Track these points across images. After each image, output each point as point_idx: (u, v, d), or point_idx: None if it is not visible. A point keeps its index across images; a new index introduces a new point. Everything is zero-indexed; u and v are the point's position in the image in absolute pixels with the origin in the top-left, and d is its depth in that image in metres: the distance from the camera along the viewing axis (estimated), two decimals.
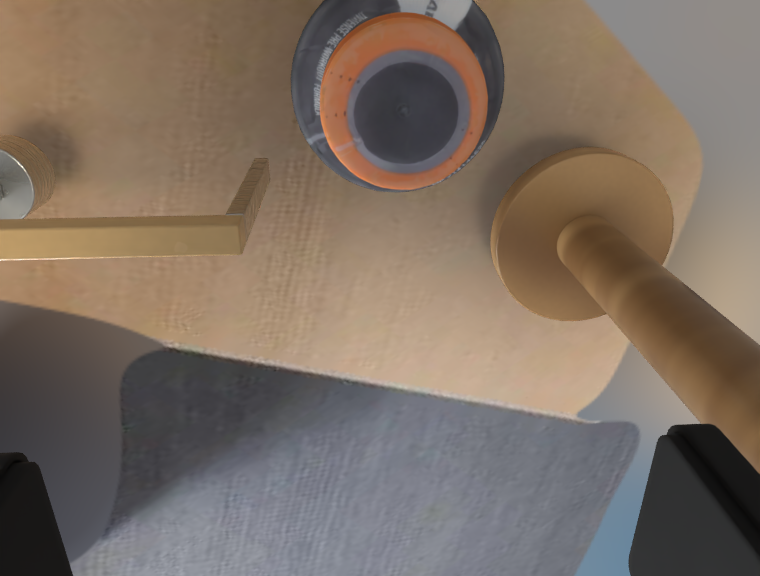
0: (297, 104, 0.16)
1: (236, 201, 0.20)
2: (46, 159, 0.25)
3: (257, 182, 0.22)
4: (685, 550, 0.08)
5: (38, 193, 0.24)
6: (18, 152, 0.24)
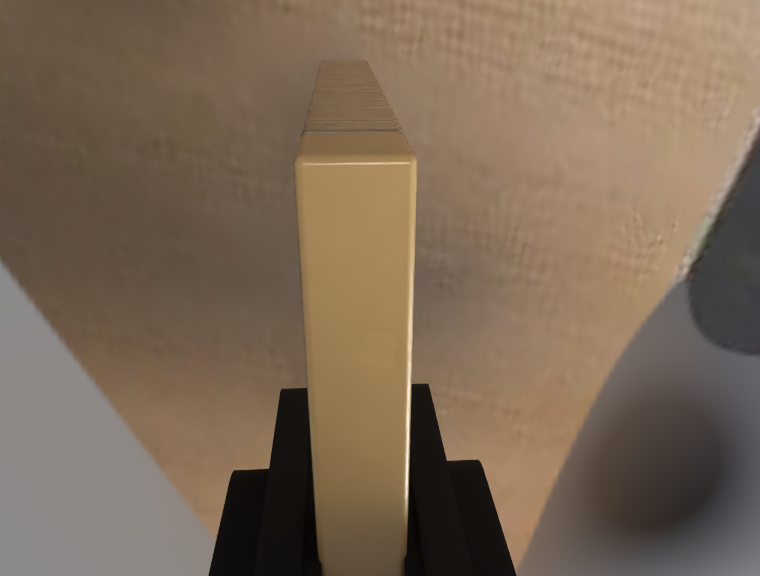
0: None
1: None
2: None
3: (316, 84, 0.09)
4: None
5: None
6: None
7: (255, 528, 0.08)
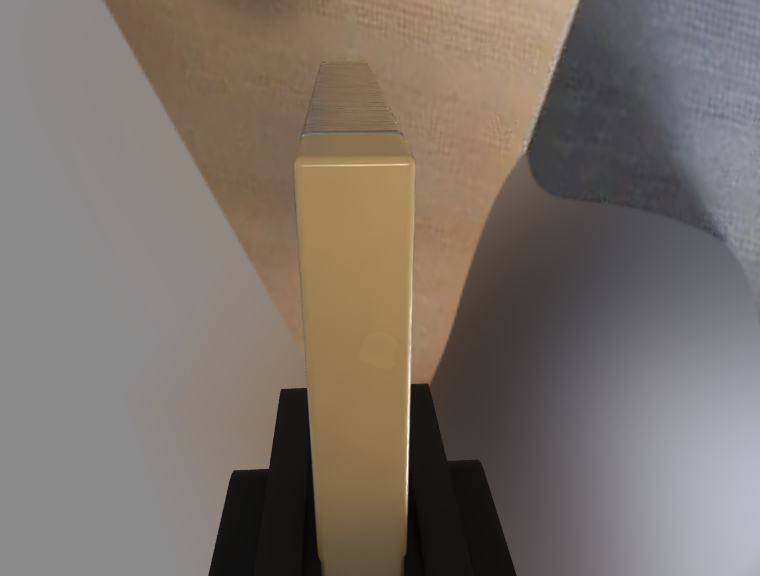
0: None
1: None
2: None
3: (315, 85, 0.09)
4: None
5: None
6: None
7: (255, 528, 0.08)
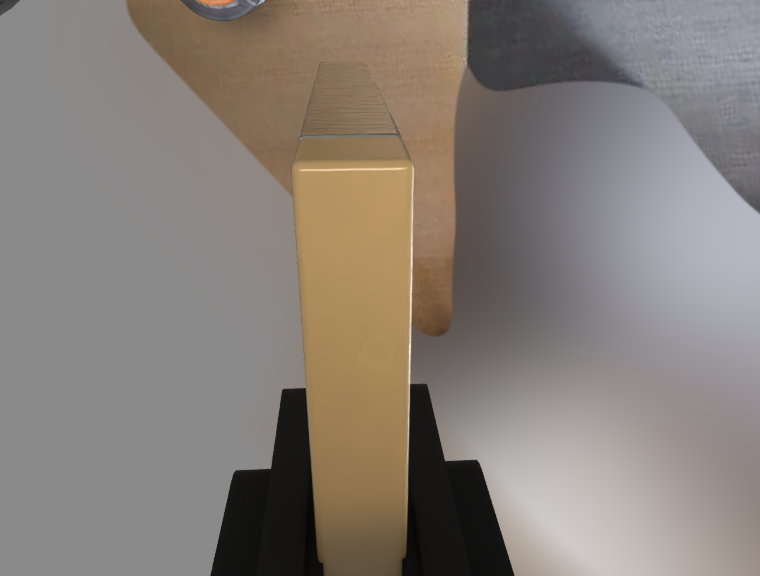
0: (239, 14, 0.36)
1: None
2: None
3: (314, 86, 0.09)
4: None
5: None
6: None
7: (257, 528, 0.08)
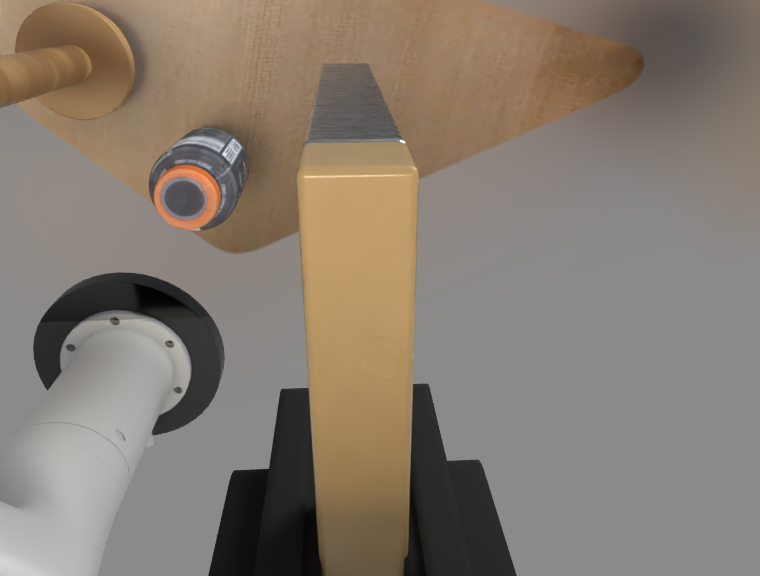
0: (233, 184, 0.41)
1: None
2: None
3: (317, 89, 0.09)
4: None
5: None
6: None
7: (255, 528, 0.08)
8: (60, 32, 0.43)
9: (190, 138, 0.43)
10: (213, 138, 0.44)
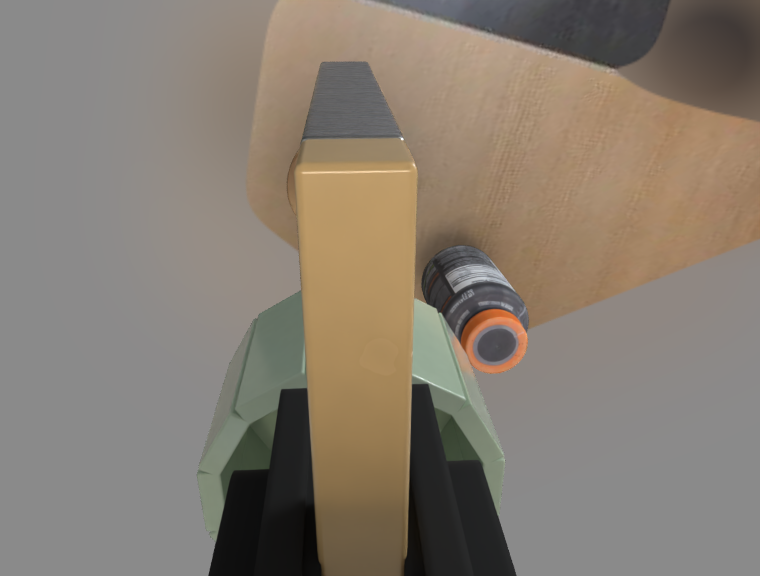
0: (527, 322, 0.40)
1: None
2: None
3: (316, 87, 0.09)
4: None
5: None
6: None
7: (255, 529, 0.08)
8: None
9: (471, 269, 0.42)
10: (488, 266, 0.43)
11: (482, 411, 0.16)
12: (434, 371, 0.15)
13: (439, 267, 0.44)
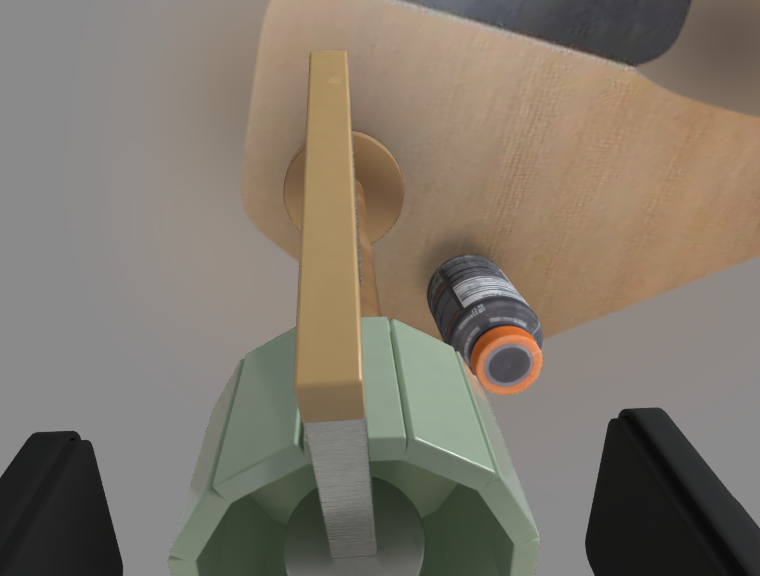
0: (542, 339, 0.37)
1: None
2: None
3: None
4: (631, 528, 0.09)
5: None
6: None
7: None
8: None
9: (480, 281, 0.39)
10: (499, 278, 0.40)
11: (512, 480, 0.13)
12: (455, 436, 0.13)
13: (446, 278, 0.42)
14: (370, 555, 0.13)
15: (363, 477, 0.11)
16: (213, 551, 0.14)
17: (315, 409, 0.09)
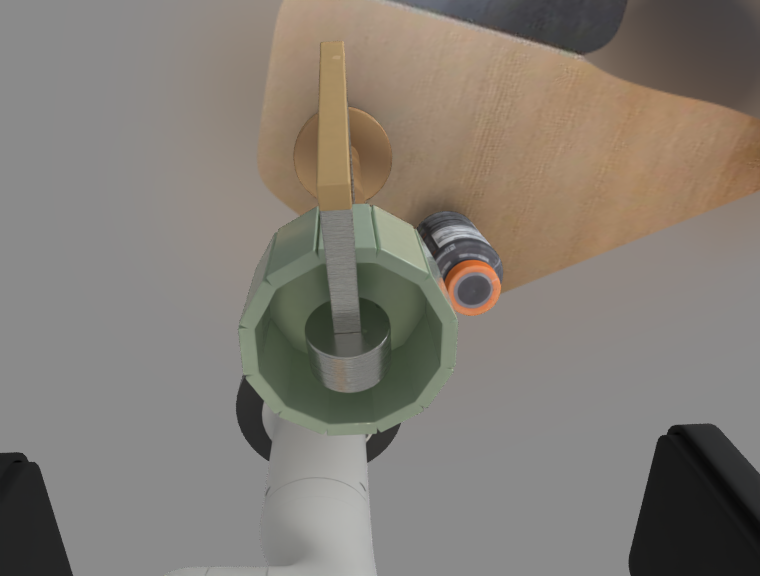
0: (502, 273, 0.46)
1: None
2: None
3: None
4: (685, 550, 0.08)
5: None
6: None
7: None
8: None
9: (453, 228, 0.48)
10: (469, 227, 0.49)
11: (442, 288, 0.23)
12: (406, 255, 0.22)
13: (426, 229, 0.51)
14: (357, 331, 0.22)
15: (351, 257, 0.20)
16: (261, 339, 0.23)
17: (326, 200, 0.18)
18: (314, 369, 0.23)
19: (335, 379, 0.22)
